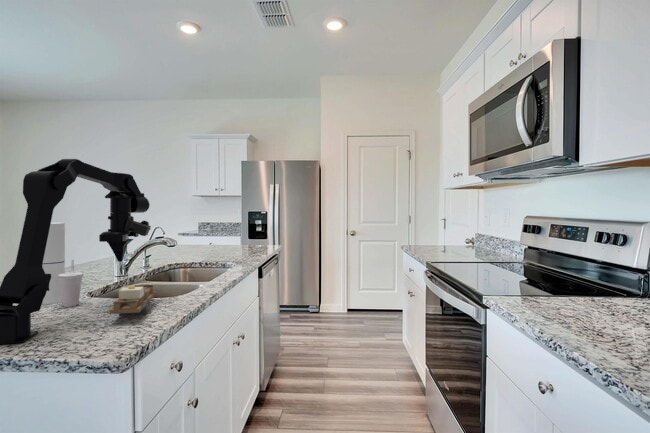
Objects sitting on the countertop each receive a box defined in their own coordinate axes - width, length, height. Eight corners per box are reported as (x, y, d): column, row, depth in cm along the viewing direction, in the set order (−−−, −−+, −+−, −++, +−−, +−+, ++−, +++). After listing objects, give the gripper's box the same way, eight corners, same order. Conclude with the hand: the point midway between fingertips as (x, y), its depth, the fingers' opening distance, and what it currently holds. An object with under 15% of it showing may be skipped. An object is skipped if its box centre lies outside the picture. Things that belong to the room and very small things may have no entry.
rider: (139, 304, 95) (140, 287, 95) (118, 305, 93) (118, 287, 93) (143, 300, 99) (143, 283, 98) (123, 301, 97) (123, 284, 97)
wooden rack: (139, 323, 91) (139, 301, 91) (109, 325, 89) (109, 302, 89) (156, 303, 110) (156, 284, 110) (131, 304, 109) (132, 285, 108)
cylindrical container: (31, 305, 106) (31, 223, 105) (43, 298, 112) (43, 222, 112) (58, 303, 107) (58, 223, 107) (68, 297, 114) (68, 222, 114)
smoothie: (69, 309, 102) (70, 262, 102) (52, 307, 104) (52, 261, 103) (88, 303, 109) (88, 259, 108) (71, 301, 110) (71, 258, 110)
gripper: (140, 214, 104) (140, 265, 104) (154, 212, 122) (154, 256, 122) (98, 213, 101) (98, 266, 101) (119, 212, 119) (119, 257, 119)
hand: (120, 261), depth 111 cm, fingers closed
